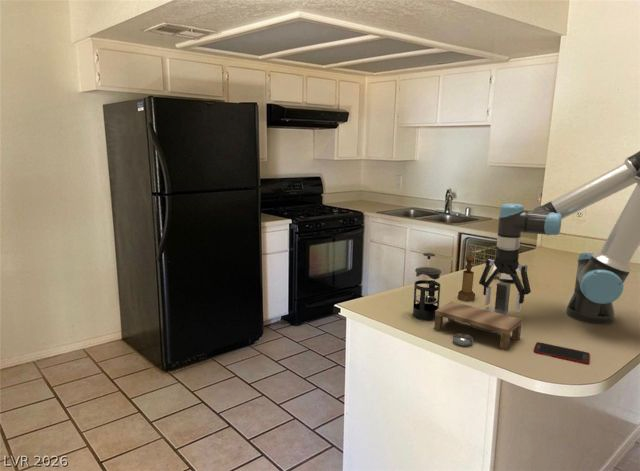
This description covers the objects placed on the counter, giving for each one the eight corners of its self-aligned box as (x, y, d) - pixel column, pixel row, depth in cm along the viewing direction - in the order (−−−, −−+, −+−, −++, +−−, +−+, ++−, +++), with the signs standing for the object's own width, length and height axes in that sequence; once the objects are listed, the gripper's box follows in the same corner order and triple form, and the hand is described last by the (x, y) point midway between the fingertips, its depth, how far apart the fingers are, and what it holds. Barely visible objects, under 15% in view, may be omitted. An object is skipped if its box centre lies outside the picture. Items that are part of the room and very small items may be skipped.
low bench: (520, 338, 151) (522, 319, 149) (506, 350, 142) (508, 330, 141) (450, 318, 166) (451, 301, 165) (434, 328, 157) (435, 310, 156)
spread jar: (520, 283, 207) (523, 258, 205) (494, 283, 207) (496, 257, 205) (510, 275, 219) (512, 251, 216) (485, 275, 219) (487, 251, 216)
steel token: (476, 344, 147) (476, 338, 146) (465, 349, 143) (466, 343, 142) (459, 337, 151) (459, 331, 151) (448, 342, 147) (449, 336, 147)
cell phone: (588, 366, 133) (589, 363, 133) (532, 353, 141) (532, 350, 140) (589, 355, 140) (590, 352, 140) (536, 344, 147) (536, 341, 147)
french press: (433, 323, 162) (437, 258, 157) (407, 317, 167) (410, 254, 162) (443, 312, 172) (448, 251, 167) (419, 307, 176) (422, 248, 172)
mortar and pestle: (475, 302, 183) (479, 257, 180) (458, 300, 184) (461, 256, 181) (473, 296, 190) (477, 253, 186) (457, 295, 191) (460, 252, 187)
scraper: (513, 317, 168) (517, 284, 166) (493, 333, 154) (496, 298, 152) (491, 311, 174) (494, 280, 171) (469, 326, 160) (472, 292, 157)
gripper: (545, 251, 160) (538, 312, 165) (480, 241, 175) (476, 297, 180) (538, 255, 155) (531, 318, 160) (472, 244, 170) (467, 302, 174)
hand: (502, 307), depth 170 cm, fingers open, 10 cm apart
